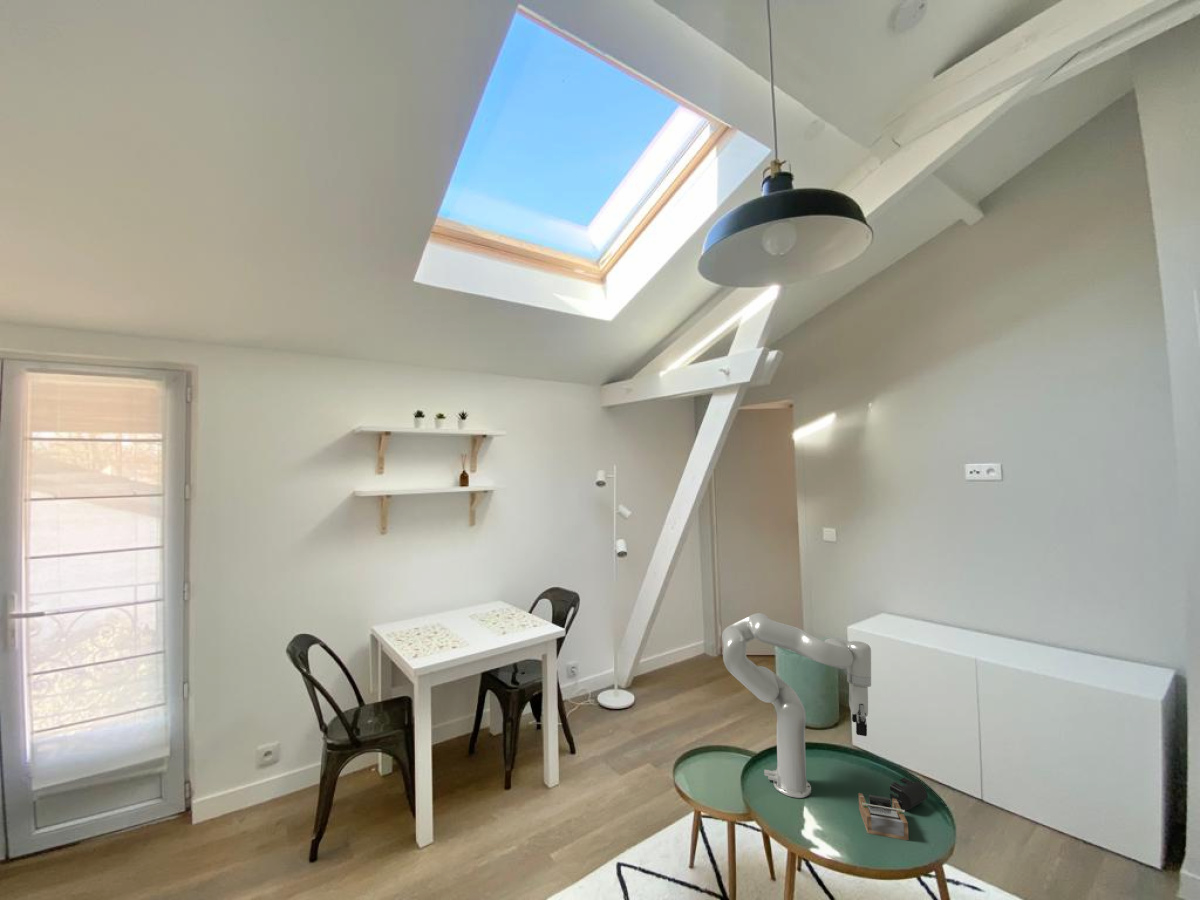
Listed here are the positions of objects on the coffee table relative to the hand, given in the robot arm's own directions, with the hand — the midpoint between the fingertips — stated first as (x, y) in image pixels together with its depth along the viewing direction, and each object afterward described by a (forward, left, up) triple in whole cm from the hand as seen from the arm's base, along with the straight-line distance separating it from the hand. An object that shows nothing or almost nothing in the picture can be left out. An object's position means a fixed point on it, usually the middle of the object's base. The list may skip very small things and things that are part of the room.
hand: (859, 728), depth 173 cm
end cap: (+14, -2, -23) cm, 27 cm away
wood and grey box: (+3, -15, -22) cm, 27 cm away
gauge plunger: (+3, -15, -21) cm, 26 cm away
